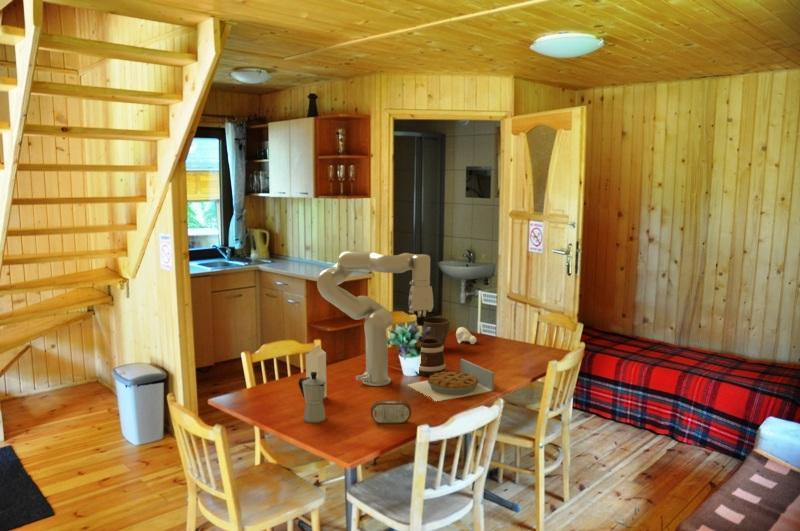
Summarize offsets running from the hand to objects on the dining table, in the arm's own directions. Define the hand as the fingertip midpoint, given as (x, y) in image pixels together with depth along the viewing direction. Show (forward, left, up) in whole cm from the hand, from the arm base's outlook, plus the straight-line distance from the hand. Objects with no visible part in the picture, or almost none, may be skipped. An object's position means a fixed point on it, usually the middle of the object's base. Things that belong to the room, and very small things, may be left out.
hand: (420, 325), depth 265 cm
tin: (-30, -31, -28) cm, 51 cm away
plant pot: (+38, +49, -27) cm, 68 cm away
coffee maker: (-54, -13, -27) cm, 62 cm away
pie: (+11, -10, -27) cm, 31 cm away
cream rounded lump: (+60, +52, -28) cm, 84 cm away
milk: (-45, +7, -27) cm, 53 cm away
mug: (+14, +18, -27) cm, 36 cm away
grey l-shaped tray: (+10, -8, -28) cm, 31 cm away
